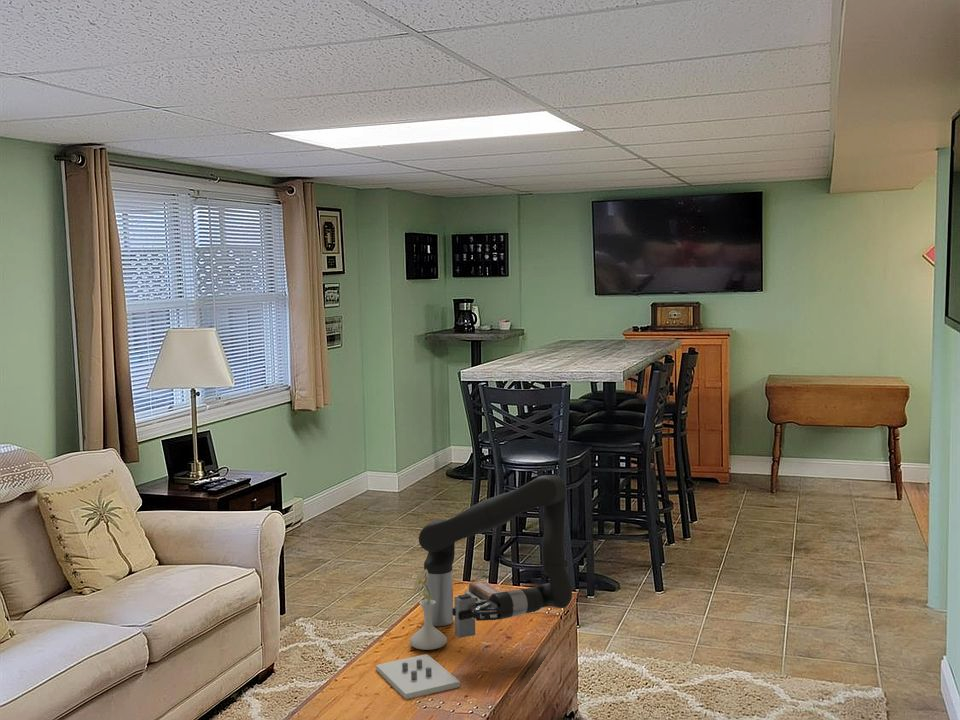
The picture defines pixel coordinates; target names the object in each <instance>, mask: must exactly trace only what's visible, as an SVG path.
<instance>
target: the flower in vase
mask: <svg viewBox="0 0 960 720" xmlns="http://www.w3.org/2000/svg"><path fill="white" fill-rule="evenodd" d="M427 580H428V570H427V569H426V570H425V571H424V568H422V569H421V570H420V572H417V576H416V579H415V580H414V581H413V584H414V586H413V589H412V591H413V593H414V594H420V592H422V596H423V597H424V598H425V597H426V598H427V599H426V600H425V599H422V600H420V601H419V605H420V606H421V608H422V610H423V619H424V621H423V625H422V627H421V628H420V629H418V630H417V631H416V632H415V633H414V634H412V635H411V637H410V639H409V644H410V645H411V646H412V647H413V648H414V649H418V650H424V651H425V650H426V651H432V650H436V649H440V648H443V647H444V646H445V645H446V644H447V643H448V639H447V637H446V635H445V634H444V633H443V632H441V631H440V630H438V629H437V628H436V626H433V625H432V609H433V606H434V604H435V603H436V601H434V600H430V597H431V595H430V593H429V589H428V587H427V585H426V583H427ZM424 586H426V588H427V590H428V591H427V590H426V589H425V588H424Z"/></svg>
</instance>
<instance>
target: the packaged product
mask: <svg viewBox="0 0 960 720" xmlns="http://www.w3.org/2000/svg"><path fill="white" fill-rule="evenodd" d="M468 586H469V587H468V590H464V594H470V595H472V596H473V597H475V598H478V601H481V600H489V598H490V596H491V595H492V594H494V593H500V592H502V591H501V590H500V589H498V588H496V587H495V586H494V585H492V584H491V583H489V582H488V581H486V580H476V581H471V582H469V584H468Z"/></svg>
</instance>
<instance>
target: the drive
mask: <svg viewBox="0 0 960 720" xmlns="http://www.w3.org/2000/svg"><path fill="white" fill-rule="evenodd" d="M453 604H454V608H455V616H454V635H455V636H456V637H458V638H459V639H462V638H466V637H472V636H476V619H471V618H469V619H464V620H459V619H458V613H459V612H462V611H467V610H470V611H471V610H472V609H475V597H473V596H472V595H470V594H465V593H463V594H460V595H458V596H453Z"/></svg>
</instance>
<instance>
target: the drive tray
mask: <svg viewBox="0 0 960 720" xmlns="http://www.w3.org/2000/svg"><path fill="white" fill-rule="evenodd" d="M375 670H377V671H378V672H379V673H378V672H377V671H376V672H377V673H378V674H379V675H380V676H381V677H383V678H384V679H385V681H386V682H388V683H389V685H391V686H392V687H393V688H394V690H396V692H398V693H399V694H400V695H401V696H402V698H404V699H405V700H410V699H414V698H417V697H418V698H419V697H423V696H426V695H430V694H431V695H432V694H435V693H438V692H443V691H447V690H448V691H449V690H453V689H456V688H460V687H461V682H460V680H459V679H458V678H456V677H455V676H454V675H453V674H451V673H450V672H449V671H448V670H446V668H445V667H443V666H442V665H441V664H439V663H438V662H437V661H436V660H435V659H433V658H432V657H431V656H430V655H429V654H428V653H427V654H421V655H417V656H411V657H407V658H402V659H397V660H392V661H388V662H384V663H379V664H375ZM422 695H423V696H422ZM413 697H414V698H413ZM409 698H410V699H409Z"/></svg>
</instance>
